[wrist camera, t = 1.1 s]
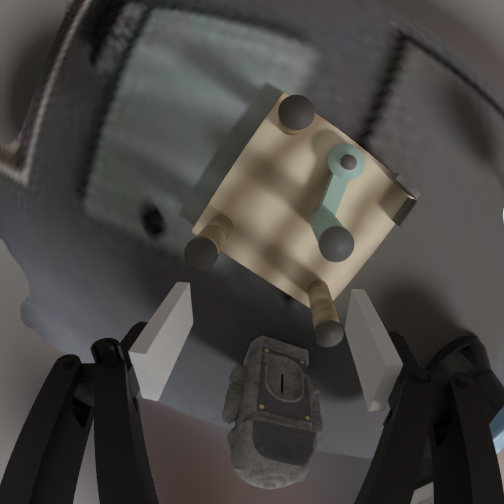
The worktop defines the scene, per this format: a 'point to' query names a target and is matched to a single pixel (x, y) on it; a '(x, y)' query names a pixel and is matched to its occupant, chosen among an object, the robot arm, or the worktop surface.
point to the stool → (299, 211)
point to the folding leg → (335, 206)
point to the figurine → (272, 415)
